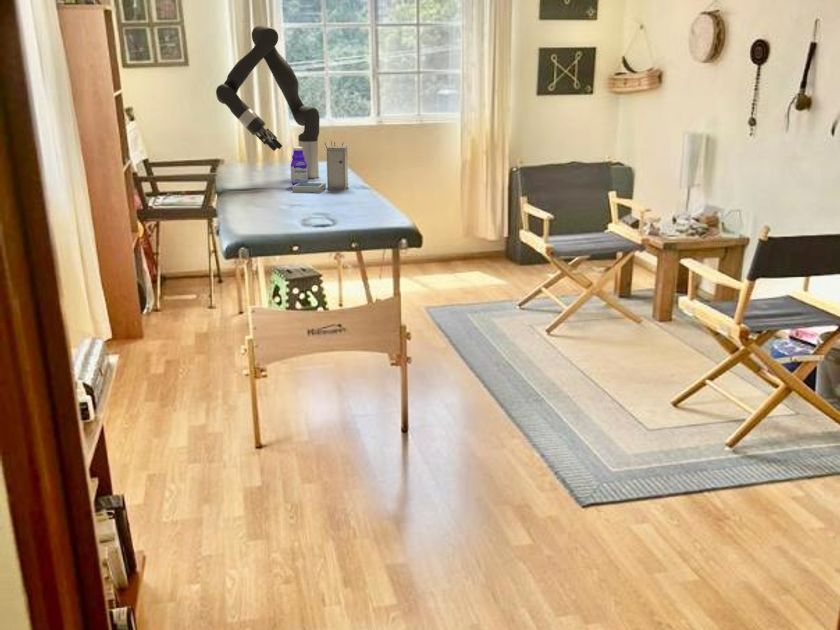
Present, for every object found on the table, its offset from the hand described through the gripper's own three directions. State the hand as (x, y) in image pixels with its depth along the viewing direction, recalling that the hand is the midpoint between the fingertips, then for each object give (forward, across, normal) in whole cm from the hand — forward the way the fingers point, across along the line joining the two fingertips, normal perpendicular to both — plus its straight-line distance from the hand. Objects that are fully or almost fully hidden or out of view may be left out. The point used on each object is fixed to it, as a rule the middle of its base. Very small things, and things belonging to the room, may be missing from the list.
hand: (278, 148), depth 358 cm
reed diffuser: (+30, +5, -6) cm, 30 cm away
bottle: (+18, 0, +6) cm, 19 cm away
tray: (+23, -11, 0) cm, 26 cm away
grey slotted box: (+31, -3, -7) cm, 32 cm away
